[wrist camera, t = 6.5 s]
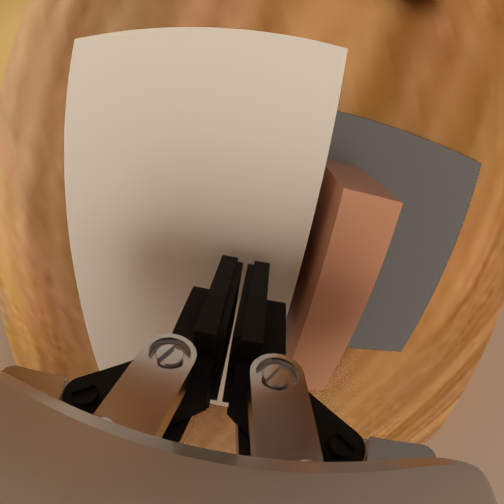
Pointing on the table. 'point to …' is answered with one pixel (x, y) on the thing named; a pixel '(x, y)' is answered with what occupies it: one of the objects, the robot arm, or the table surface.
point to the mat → (406, 221)
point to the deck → (190, 169)
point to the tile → (338, 268)
